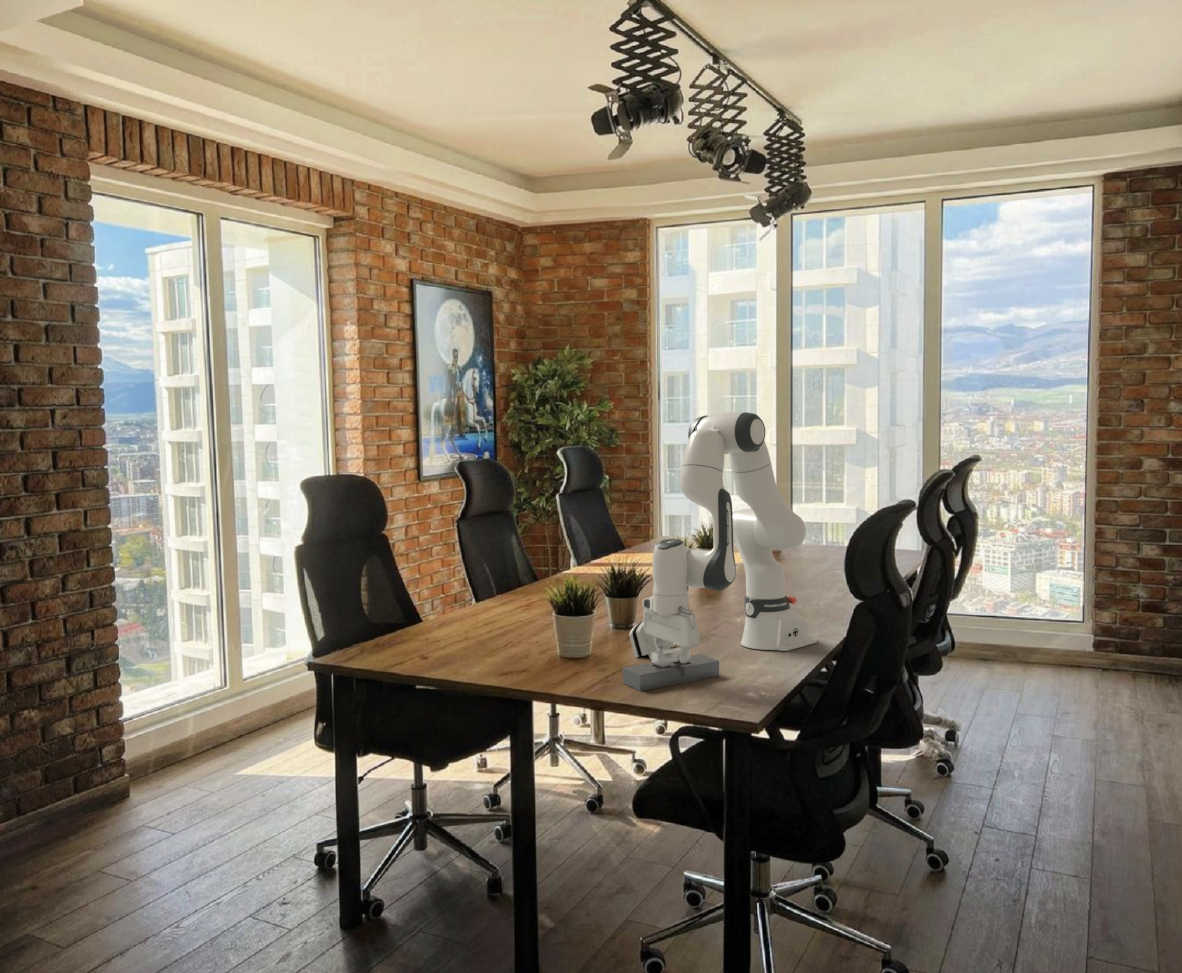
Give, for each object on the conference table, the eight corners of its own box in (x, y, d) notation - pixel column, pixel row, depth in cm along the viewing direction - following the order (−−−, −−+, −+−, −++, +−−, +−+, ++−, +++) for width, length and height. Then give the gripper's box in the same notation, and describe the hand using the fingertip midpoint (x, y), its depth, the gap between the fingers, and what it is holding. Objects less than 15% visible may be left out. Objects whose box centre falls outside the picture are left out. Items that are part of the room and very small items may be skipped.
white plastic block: (651, 659, 269) (639, 624, 269) (636, 663, 271) (624, 628, 272) (675, 645, 283) (664, 612, 284) (661, 649, 286) (650, 617, 286)
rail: (700, 669, 257) (700, 654, 257) (719, 676, 250) (719, 660, 250) (623, 683, 246) (622, 667, 245) (640, 691, 239) (639, 675, 238)
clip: (684, 675, 252) (683, 646, 251) (691, 678, 249) (690, 649, 249) (651, 681, 247) (651, 652, 246) (658, 684, 244) (657, 654, 244)
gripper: (705, 609, 239) (705, 665, 240) (658, 596, 257) (659, 648, 258) (683, 612, 236) (684, 668, 237) (638, 599, 254) (639, 651, 255)
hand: (671, 658), depth 248 cm, fingers open, 8 cm apart
